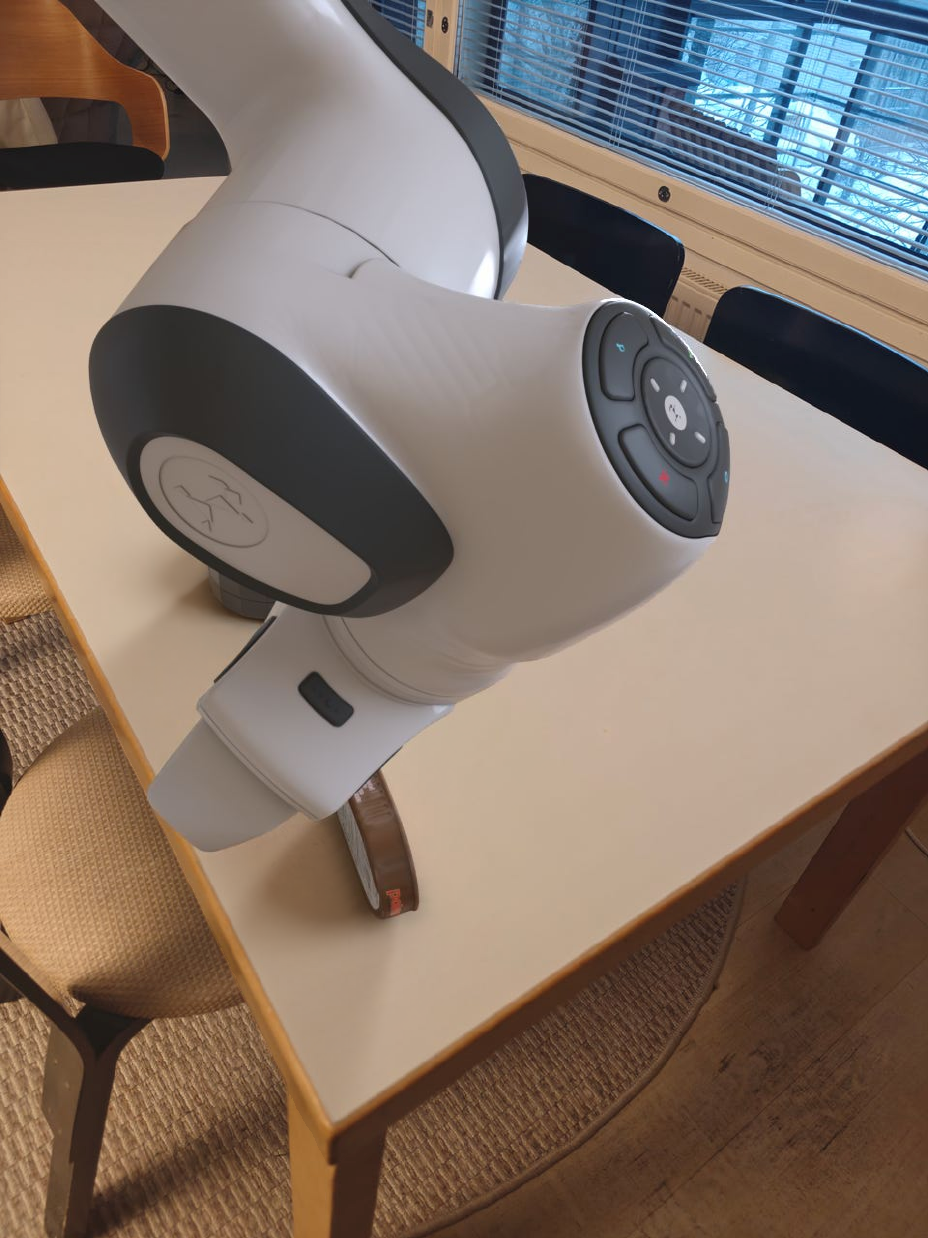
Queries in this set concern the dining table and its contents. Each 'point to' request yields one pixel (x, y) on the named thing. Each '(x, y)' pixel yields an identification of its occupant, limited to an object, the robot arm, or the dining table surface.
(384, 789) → the tin
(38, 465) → the dining table surface
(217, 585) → the dark faceted ashtray
